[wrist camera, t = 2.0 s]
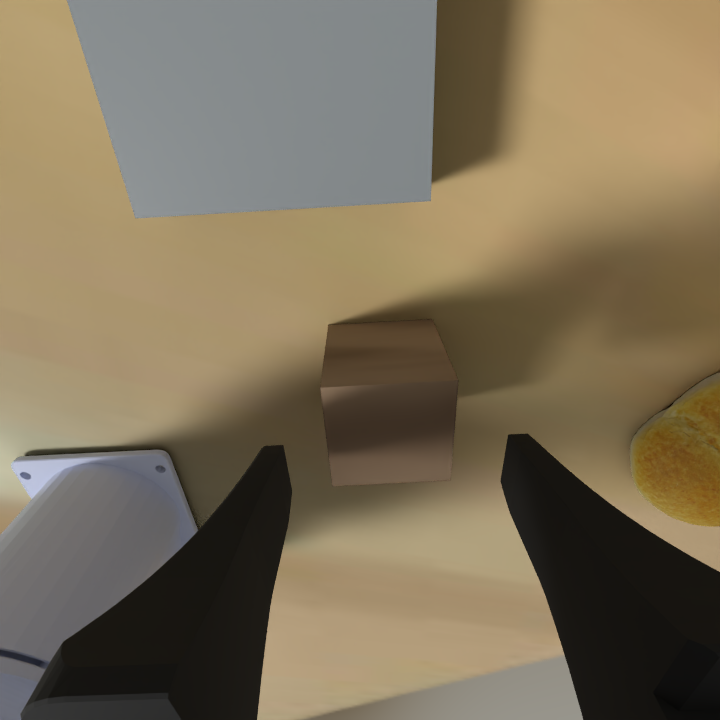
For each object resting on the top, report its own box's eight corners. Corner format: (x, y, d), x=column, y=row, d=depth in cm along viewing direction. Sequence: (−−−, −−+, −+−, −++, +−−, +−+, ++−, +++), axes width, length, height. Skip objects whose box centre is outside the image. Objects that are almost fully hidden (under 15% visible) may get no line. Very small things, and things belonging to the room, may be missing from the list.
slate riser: (417, 189, 15) (430, 201, 12) (173, 203, 15) (135, 218, 12) (422, -189, 10) (446, -299, 8) (76, -164, 10) (-16, -263, 8)
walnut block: (428, 403, 20) (450, 480, 15) (336, 408, 20) (332, 486, 15) (431, 318, 17) (458, 380, 13) (328, 324, 17) (320, 387, 13)
